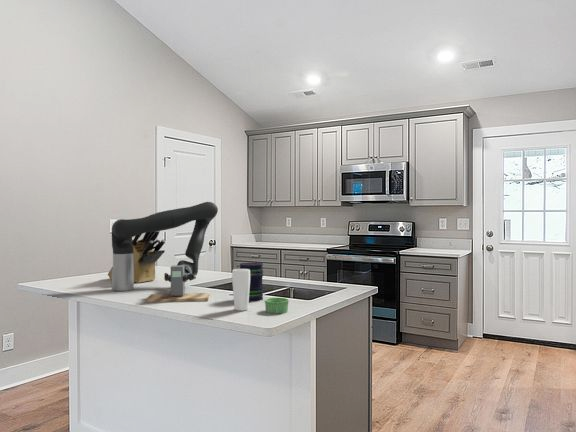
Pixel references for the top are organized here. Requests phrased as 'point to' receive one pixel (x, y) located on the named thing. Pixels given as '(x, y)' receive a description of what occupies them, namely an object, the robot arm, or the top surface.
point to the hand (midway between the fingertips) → (176, 279)
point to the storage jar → (255, 280)
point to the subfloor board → (178, 297)
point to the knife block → (145, 256)
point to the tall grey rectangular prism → (177, 280)
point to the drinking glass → (241, 288)
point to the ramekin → (276, 305)
